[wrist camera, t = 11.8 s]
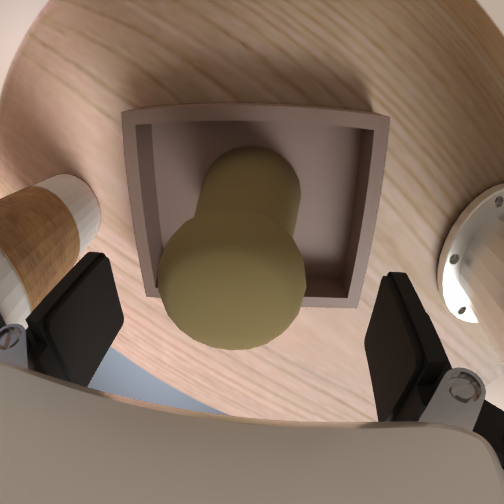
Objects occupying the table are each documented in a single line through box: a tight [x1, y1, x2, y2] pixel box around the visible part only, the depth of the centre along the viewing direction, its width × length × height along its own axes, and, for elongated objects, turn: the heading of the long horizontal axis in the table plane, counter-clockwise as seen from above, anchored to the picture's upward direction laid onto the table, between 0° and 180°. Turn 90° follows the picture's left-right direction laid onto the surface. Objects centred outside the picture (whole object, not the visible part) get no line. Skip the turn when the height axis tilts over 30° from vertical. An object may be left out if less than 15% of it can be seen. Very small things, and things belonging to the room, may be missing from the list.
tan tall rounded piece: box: [158, 146, 306, 350], centre depth 15 cm, size 6×6×11 cm
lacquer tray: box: [121, 103, 390, 308], centre depth 19 cm, size 14×12×3 cm
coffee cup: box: [0, 174, 101, 330], centre depth 15 cm, size 8×8×15 cm
